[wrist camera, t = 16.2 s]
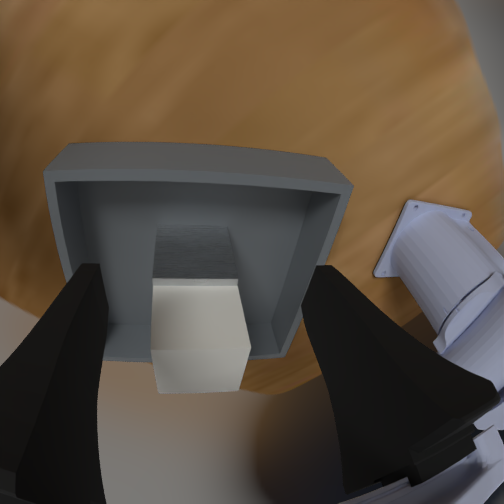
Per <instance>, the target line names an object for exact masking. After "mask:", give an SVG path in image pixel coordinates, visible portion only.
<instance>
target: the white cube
mask: <svg viewBox="0 0 504 504" xmlns="http://www.w3.org/2000/svg"><path fill="white" fill-rule="evenodd" d="M250 350H251V344H250V340H249V335H248V331H247V326H246V322H245V317H244V313H243V308H242V304H241V299H240V295H239V290H238V286H153V297H152V317H151V356H152V362H153V367H154V373H155V378H156V383H157V389H158V393H163V394H164V393H165V394H166V393H167V394H168V393H169V394H171V393H208V392H227V391H238V390H239V387H240V384H241V380H242V377H243V374H244V370H245V367H246V363H247V360H248V357H249V353H250Z"/></svg>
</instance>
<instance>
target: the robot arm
mask: <svg viewBox="0 0 504 504" xmlns="http://www.w3.org/2000/svg"><path fill="white" fill-rule="evenodd" d="M414 206H415V207H414ZM471 216H472V213H471V212H470V211H469V210H464V209H459V208H454V207H449V206H444V205H439V204H433V203H428V202H422V201H417V200H408V201H407V202H406V204H405V206H404V208H403V210H402V213H401V215H400V217H399V219H398V222H397V224H396V226H395V228H394V230H393V233H392V235H391V237H390V239H389V241H388V243H387V245H386V247H385V249H384V252H383V254H382V256H381V258H380V260H379V262H378V264H377V266H376V268H375V270H374V272H373V274H374V275H375V277H400V278H401V280H402V281H403V283H404V284H405V285H406V287H407V288H408V290H409V291H410V293H411V294H412V296H413V297H414V299H415V300H416V302H417V303H418V305H419V306H420V308H421V309H422V311H423V312H424V314H425V315H426V317H427V319H428V320H429V322H430V323H431V325H432V326H433V328H434V330H435V331H436V333H437V335H438V337H437V338H436V339H435V340H434V342H433V343H434V345H435V347H436V349H437V350H438V352H437V353H436V352H434V351H432V350H431V349H429V348H428V347H426V346H425V345H423V344H422V343H420V342H419V341H418V340H416V339H415V338H414V337H412V336H411V335H410V334H408V333H407V332H406V331H405V330H403V329H402V328H401V327H400V326H398V325H397V324H396V323H395V322H394V321H392V320H391V319H390V318H389V317H388V316H387V315H385V314H384V313H383V312H382V311H381V310H380V309H379V308H378V307H377V306H375V305H374V304H373V303H372V302H371V301H370V300H369V299H368V298H367V297H366V296H365V295H364V294H363V293H362V292H360V291H359V290H358V289H357V288H356V287H355V286H354V285H353V284H352V283H351V282H350V281H349V280H348V279H347V278H346V277H344V276H343V275H342V274H341V273H340V272H339V271H338V270H337V269H335V268H334V267H333V266H332V265H316V267H315V270H314V273H313V275H312V278H311V280H310V283H309V286H308V288H307V291H306V293H305V296H304V298H303V301H302V304H301V309H302V314H303V319H304V323H305V327H306V331H307V334H308V336H309V339H310V342H311V345H312V347H313V350H314V353H315V355H316V358H317V360H318V363H319V366H320V368H321V371H322V374H323V376H324V379H325V382H326V385H327V388H328V391H329V395H330V399H331V403H332V408H333V412H334V417H335V422H336V427H337V432H338V439H339V445H340V452H341V461H342V473H343V486H344V489H345V493H346V494H350V493H353V492H355V491H358V490H361V489H364V488H366V487H369V486H371V485H374V484H377V483H379V482H381V483H382V485H383V487H382V488H380V489H377V490H375V491H372V492H370V493H367V494H365V495H362V496H360V497H357V498H354V499H351V500H348V501H345V502H342V503H339V504H484V502H485V501H486V500H487V499H488V498H489V496H490V495H491V494H492V493H493V492H494V491H495V490H496V488H498V487H499V485H500V484H501V483H502V482H503V481H504V445H503V442H502V441H501V438H500V436H499V433H498V431H497V430H504V258H503V257H502V256H501V255H500V254H499V253H498V251H497V250H496V249H495V248H494V247H493V246H492V245H491V244H490V243H489V242H488V241H487V240H486V239H485V238H484V237H483V236H482V235H481V234H480V233H479V232H478V231H477V230H476V229H475V228H474V227H473V226H472V225H471V224H470V223H469V220H470V218H471ZM108 313H109V305H108V301H107V297H106V292H105V288H104V283H103V278H102V273H101V268H100V263H82V264H81V265H80V266H79V267H78V269H77V270H76V271H75V273H74V274H73V275H72V277H71V278H70V280H69V281H68V282H67V284H66V285H65V286H64V288H63V289H62V290H61V292H60V293H59V295H58V296H57V297H56V299H55V300H54V301H53V303H52V304H51V305H50V307H49V308H48V309H47V311H46V312H45V313H44V315H43V316H42V317H41V319H40V320H39V321H38V322H37V324H36V325H35V326H34V328H33V329H32V330H31V332H30V333H29V334H28V335H27V337H26V338H25V339H24V340H23V342H22V343H21V344H20V345H19V346H18V347H17V349H16V350H15V351H14V352H13V353H12V354H11V355H10V357H9V358H8V359H7V360H6V361H5V362H4V363H3V364H2V365H1V366H0V504H106V500H105V495H104V489H103V484H102V477H101V469H100V460H99V450H98V433H97V398H98V388H99V381H100V374H101V367H102V361H103V355H104V349H105V343H106V337H107V326H108ZM472 423H473V424H474V425H475V426H476V428H477V429H479V430H485V431H483V432H482V433H480V434H479V435H477V436H476V437H474V438H473V439H472V436H471V433H473V432H474V430H475V429H474V427H473V425H472Z"/></svg>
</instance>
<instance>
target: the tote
mask: <svg viewBox="0 0 504 504" xmlns="http://www.w3.org/2000/svg"><path fill="white" fill-rule="evenodd" d="M43 175H44V182H45V189H46V195H47V201H48V207H49V212H50V217H51V222H52V227H53V232H54V236H55V240H56V245H57V249H58V253H59V257H60V261H61V264H62V268H63V272H64V275H65V279H66V282H68V281H69V280H70V278H71V277H72V275H73V274H74V273H75V271H76V270H77V269H78V267H79V266H80V265H81V264H82V263H100V268H101V273H102V278H103V283H104V288H105V292H106V297H107V301H108V305H109V313H108V326H107V337H106V343H105V349H104V355H103V360H106V361H125V362H126V361H127V362H152V356H151V317H152V297H153V283H152V274H153V263H154V252H155V242H156V233H157V224H173V225H209V226H227V229H228V234H229V238H230V243H231V247H232V252H233V257H234V261H235V266H236V270H237V275H238V284H237V286H238V290H239V295H240V299H241V304H242V308H243V313H244V317H245V322H246V326H247V331H248V335H249V340H250V344H251V350H250V353H249V357H248V360H255V359H268V358H280V357H285V355H286V353H287V351H288V349H289V347H290V345H291V342H292V340H293V338H294V336H295V333H296V331H297V329H298V327H299V324H300V322H301V320H302V318H303V314H302V309H301V304H302V301H303V298H304V296H305V293H306V291H307V288H308V286H309V283H310V280H311V278H312V275H313V273H314V270H315V267H316V265H325V262H326V260H327V257H328V255H329V252H330V250H331V247H332V244H333V242H334V239H335V236H336V234H337V231H338V229H339V226H340V223H341V220H342V218H343V215H344V212H345V209H346V207H347V204H348V201H349V198H350V195H351V193H352V190H353V187H354V185H353V184H352V183H351V182H350V181H349V180H348V179H347V178H346V177H345V176H344V175H343V174H342V173H341V172H340V171H339V170H338V169H337V168H336V167H335V166H334V165H333V164H332V163H331V162H330V161H329V160H328V159H327V158H324V157H318V156H311V155H304V154H297V153H290V152H282V151H273V150H264V149H255V148H245V147H234V146H221V145H207V144H189V143H163V142H97V143H73V144H68V145H67V146H66V147H65V148H64V149H63V150H62V151H61V152H60V153H59V154H58V155H57V156H56V157H55V159H54V160H53V161H52V162H51V163H50V164H49V165H48V166H47V167H46V168H45V169H44V171H43Z"/></svg>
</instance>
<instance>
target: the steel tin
mask: <svg viewBox="0 0 504 504" xmlns="http://www.w3.org/2000/svg"><path fill="white" fill-rule="evenodd" d="M152 283H153V286H237V284H238V275H237V270H236V266H235V261H234V257H233V252H232V247H231V243H230V238H229V234H228V229H227V226H209V225H173V224H157V233H156V242H155V252H154V263H153V274H152Z"/></svg>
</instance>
